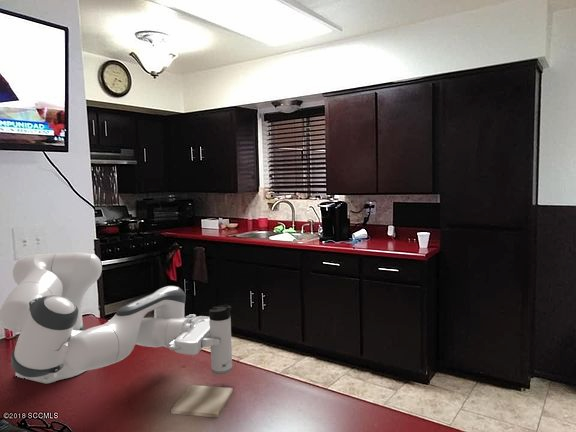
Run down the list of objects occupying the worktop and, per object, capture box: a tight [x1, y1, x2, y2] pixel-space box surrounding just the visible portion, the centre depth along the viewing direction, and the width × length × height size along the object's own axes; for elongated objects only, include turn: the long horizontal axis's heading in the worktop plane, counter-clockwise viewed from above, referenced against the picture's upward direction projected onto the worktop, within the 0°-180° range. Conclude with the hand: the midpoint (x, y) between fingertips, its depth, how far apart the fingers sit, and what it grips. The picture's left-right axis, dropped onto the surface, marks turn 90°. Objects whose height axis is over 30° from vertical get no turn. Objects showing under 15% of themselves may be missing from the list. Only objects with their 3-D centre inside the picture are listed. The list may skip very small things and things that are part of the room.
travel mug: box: [208, 304, 233, 376], centre depth 126 cm, size 6×7×20 cm
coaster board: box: [170, 384, 234, 418], centre depth 117 cm, size 13×13×1 cm
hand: (223, 336), depth 126 cm, fingers closed on travel mug, 6 cm apart
